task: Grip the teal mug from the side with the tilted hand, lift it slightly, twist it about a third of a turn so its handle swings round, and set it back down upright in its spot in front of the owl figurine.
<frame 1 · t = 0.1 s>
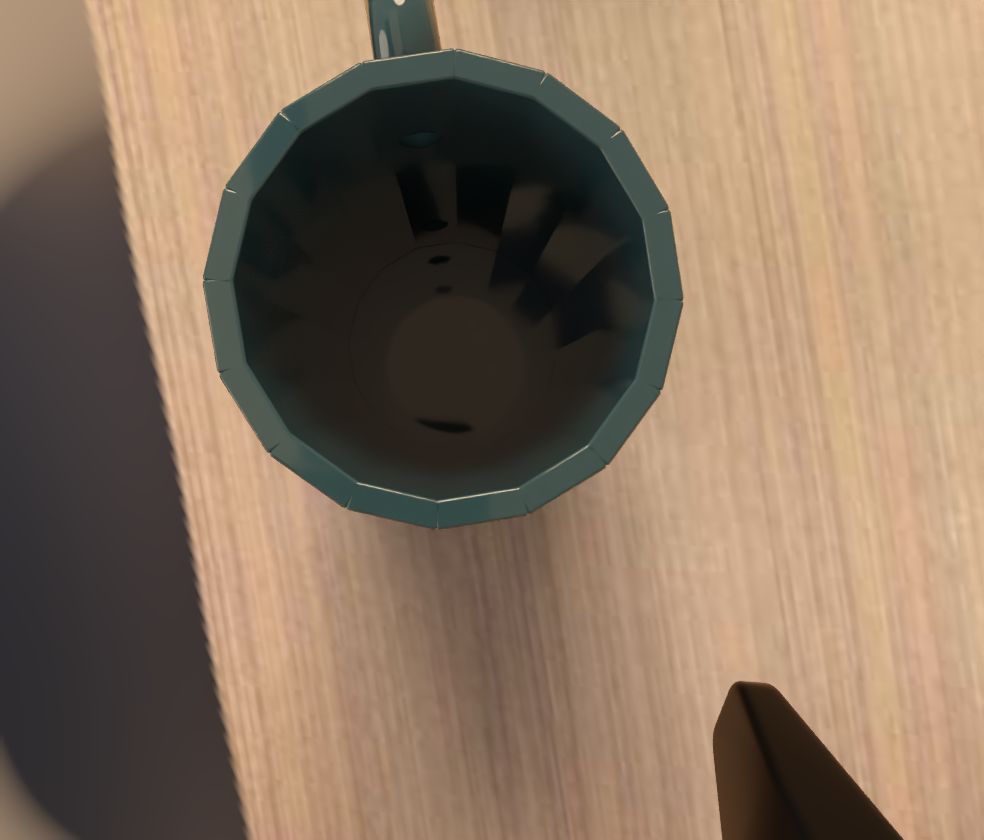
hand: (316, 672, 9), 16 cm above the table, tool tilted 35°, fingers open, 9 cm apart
teal mug: (453, 347, 25), on the table
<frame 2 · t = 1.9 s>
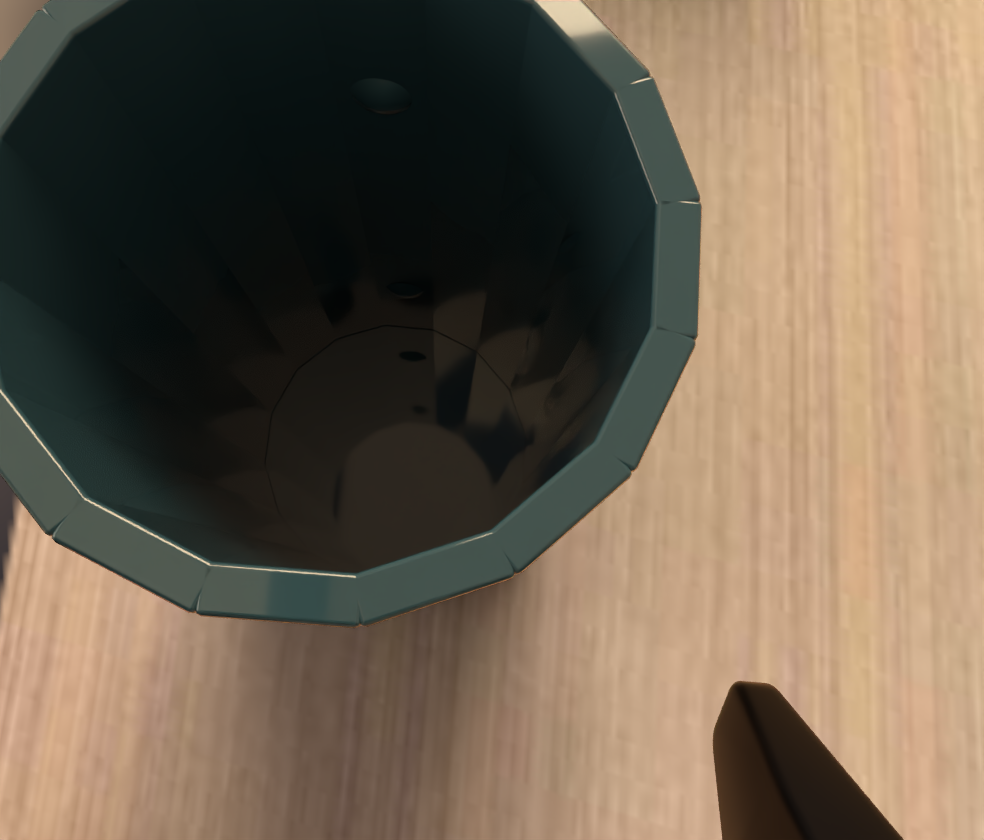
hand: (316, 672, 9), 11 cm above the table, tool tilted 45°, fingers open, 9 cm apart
teal mug: (397, 453, 20), on the table
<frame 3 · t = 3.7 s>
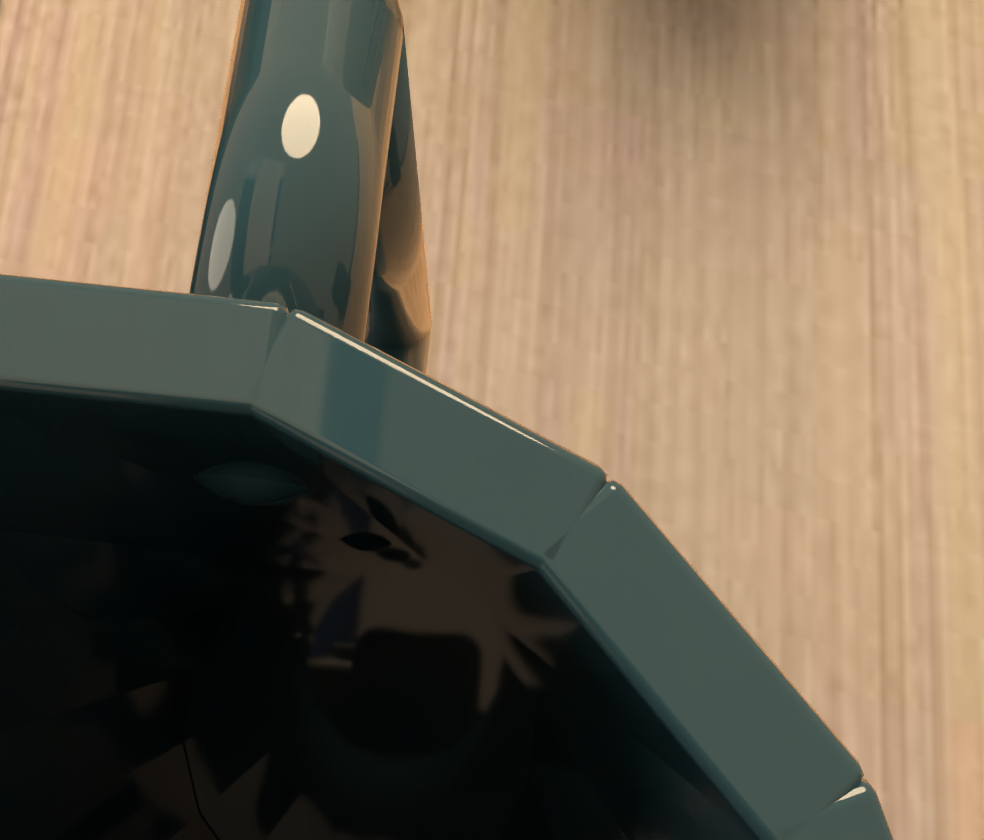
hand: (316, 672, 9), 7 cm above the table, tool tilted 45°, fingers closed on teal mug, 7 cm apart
teal mug: (365, 717, 15), on the table, touching gripper
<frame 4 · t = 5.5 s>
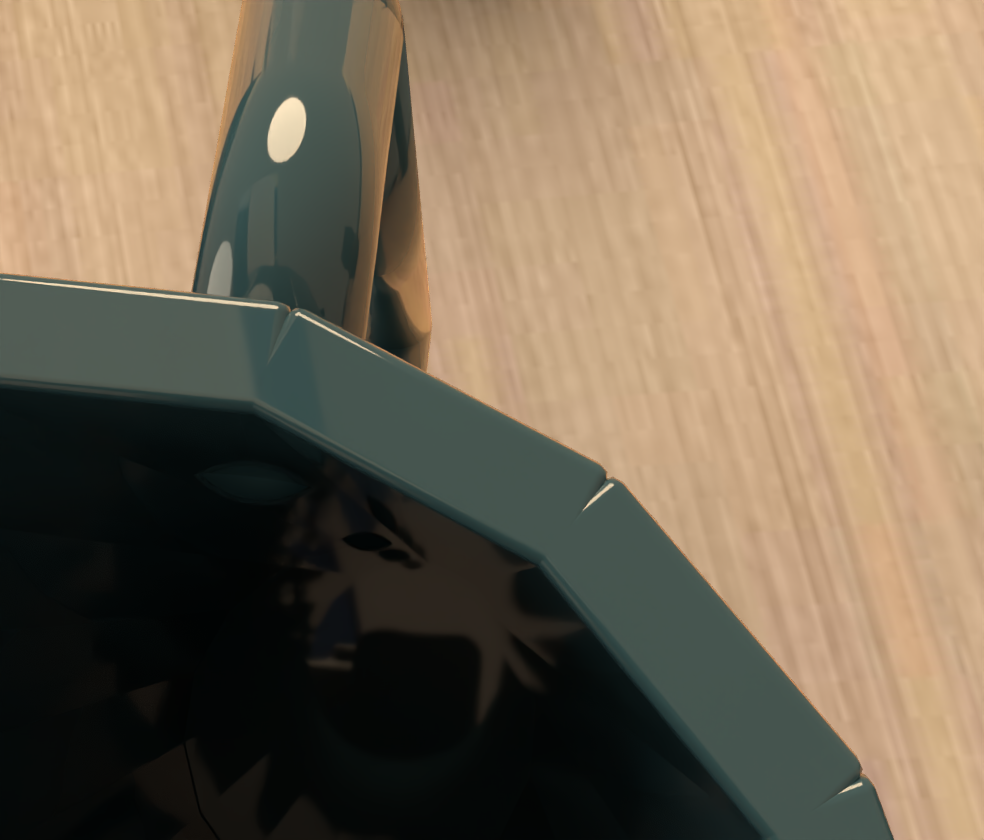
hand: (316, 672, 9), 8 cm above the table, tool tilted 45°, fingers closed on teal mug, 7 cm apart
teal mug: (365, 717, 15), point 2 cm above the table, touching gripper
when the fingers open (7 cm above the table, at t = 7.2 s): teal mug stays where it is, on the table.
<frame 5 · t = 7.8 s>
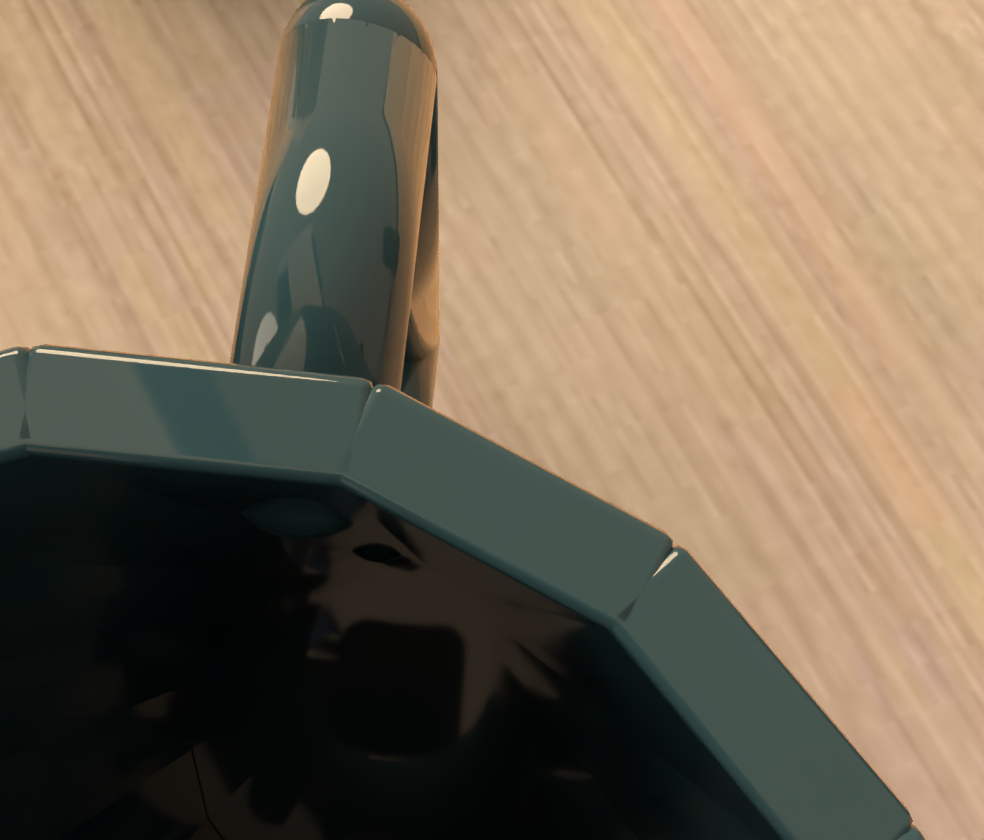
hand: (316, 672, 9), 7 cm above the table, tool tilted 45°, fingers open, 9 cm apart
teal mug: (371, 722, 15), on the table
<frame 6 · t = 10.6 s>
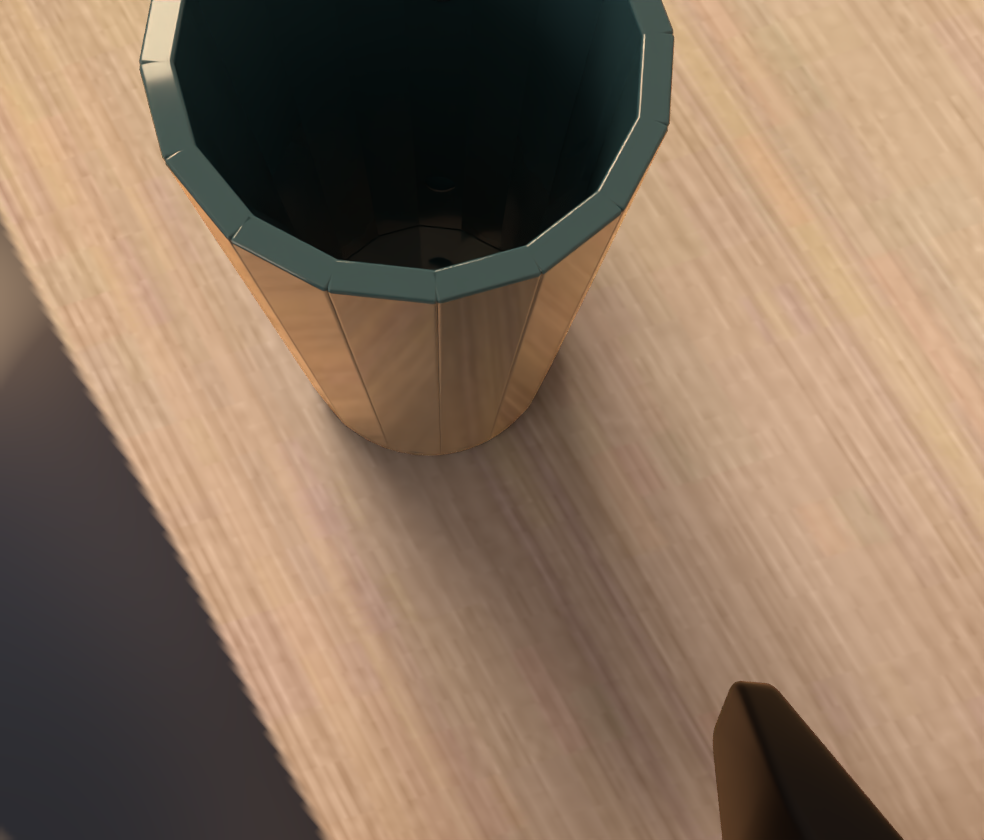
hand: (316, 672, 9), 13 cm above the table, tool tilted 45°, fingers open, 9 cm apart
teal mug: (429, 335, 24), on the table
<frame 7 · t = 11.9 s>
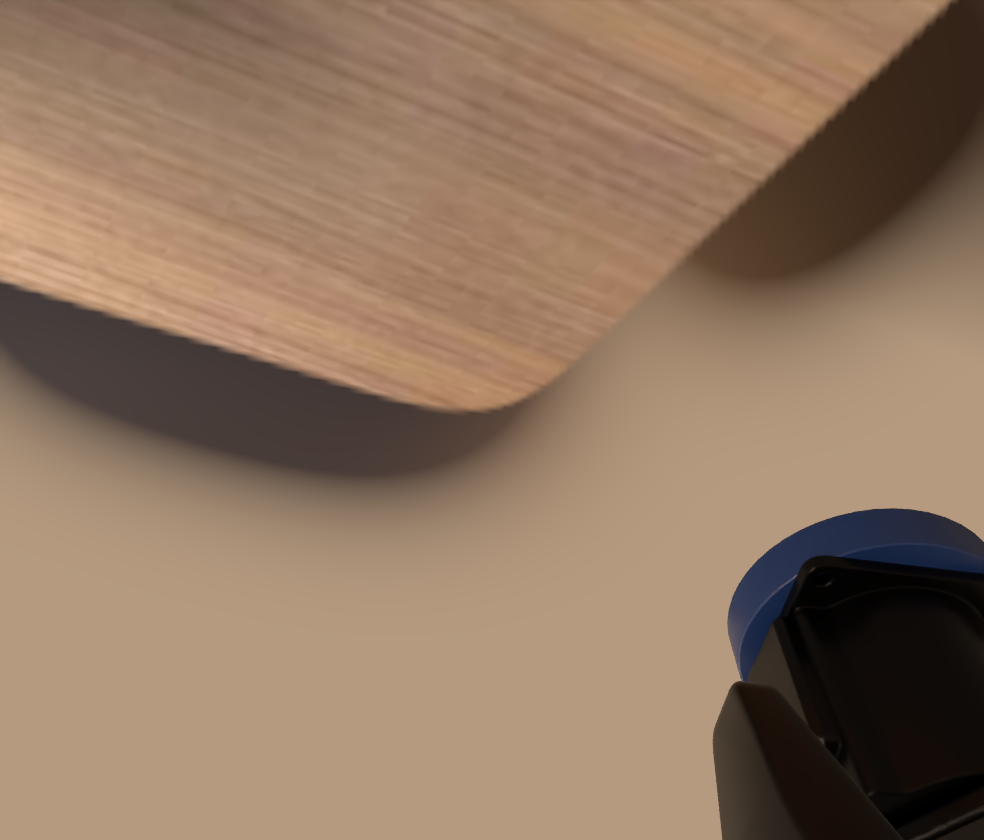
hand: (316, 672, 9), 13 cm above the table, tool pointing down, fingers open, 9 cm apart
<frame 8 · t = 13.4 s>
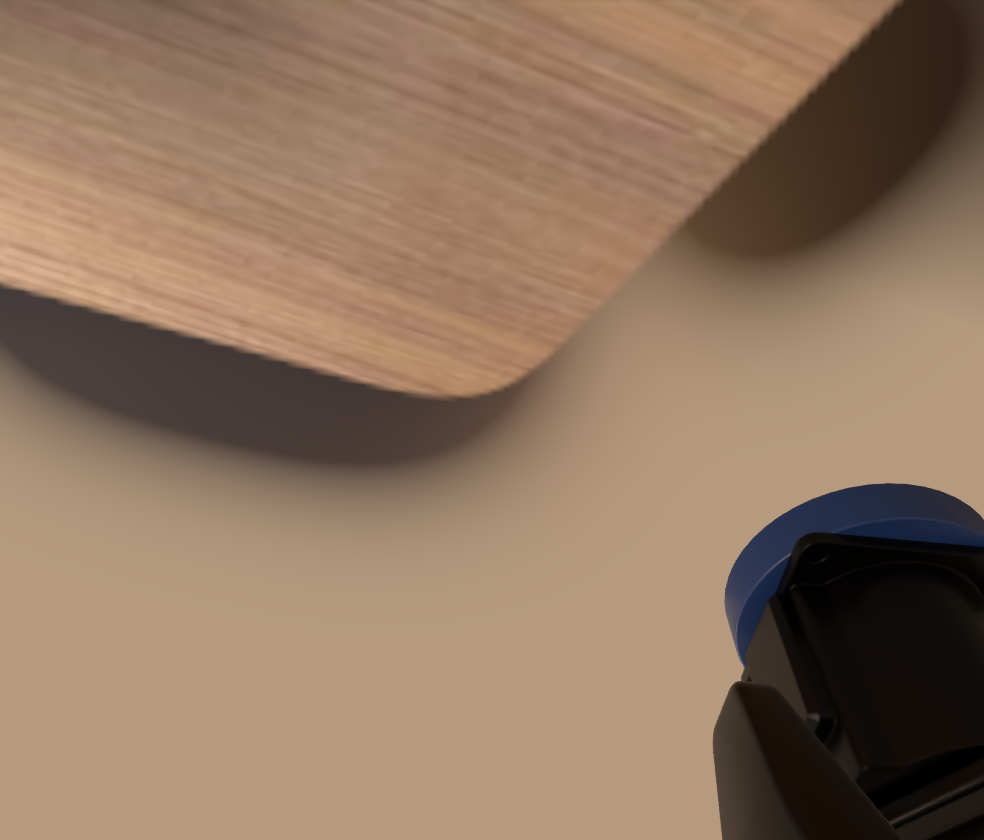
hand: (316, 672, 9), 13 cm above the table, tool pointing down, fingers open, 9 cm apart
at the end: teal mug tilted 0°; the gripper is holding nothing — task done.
